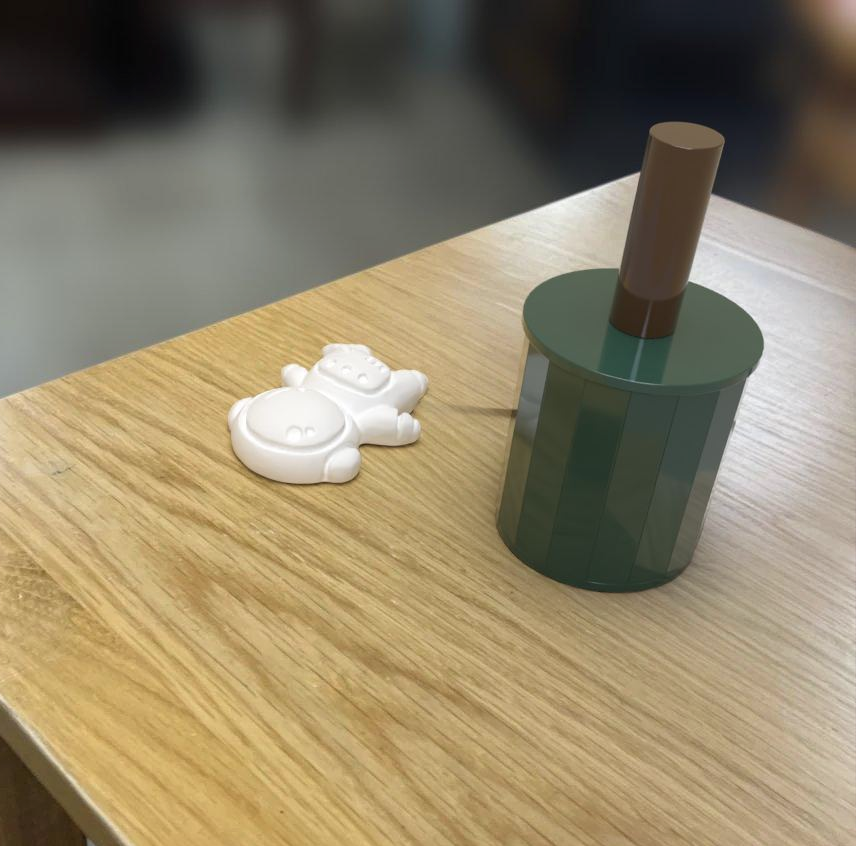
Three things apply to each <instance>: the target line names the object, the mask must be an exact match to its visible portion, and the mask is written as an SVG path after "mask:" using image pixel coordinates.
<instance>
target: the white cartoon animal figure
mask: <svg viewBox="0 0 856 846" xmlns="http://www.w3.org/2000/svg"><path fill="white" fill-rule="evenodd" d="M321 354H322V358H320V360H318V361H317V362H315V364H313V366H312V367H311V369H309V370H307V368H305V367H304V366H300V365H299V364H297V363H290V364H286V365H285V366H283V367H282V368H281V370H280V384H281V387H277V388H273V389H269V390H267V391H264V392H261V393H259V394H257V395H255V396H254V397H251V396H249V397H244V398H241V399H240V400H237V401H236V402H235V403H233V405H232V406H231V408H230V409H229V411H228V415H227V424H228V429H229V431H230V439H231V440H230V441H231V447H232V449H233V453H234V454H235V456H236V457H237V458H238V460H239V461H240V462H241V463H242V464H244V465H245V466H246V467H247V468H248V469H249V470H251V471H252V472H254V473H256V474H257V475H259V476H262V477H265V478H267V479H269V480H273V481H277V482H281V483H288V484H296V485H298V484H303V485H304V484H318V483H325V482H326V483H333V484H342V483H346V482H349V481H351V480H352V479H353V480H354V478H355V477H356V476H357V475H358V474H359V471H360V470H361V466H362V454H361V452H360V451H359V447H360V446H361V445H363V444H370V445H379V446H390V447H399V446H405V445H409V444H413V443H415V442H416V441H417V440H419V438H420V436H421V433H422V426H421V424H420V421H419V420H418V419H416V418H414V417H413V415H412V414H411V413H412V412H413V410H414V409H415V408H417V407H418V406H419V405H420V404H421V399H422V397H424V395H426V392H427V390H428V388H429V385H430V382H429V378H428V377H427V375H425V374H424V373H423V372H421V371H419V370H417V369H410V370H409V369H405V368H404V369H398V370H391V369H390V367H389V366H388V365H387V364H386V363H384V362H383V361H382V360H380V359H378V358H377V357H375V356H374V354H373V351H372V350H371V348H369V347H368V346H366V345H364V344H362V343H361V344H360V343H357V344H355V343H348V344H347V343H338V342H337V343H335V342H334V343H329V344H327V345H325V346H323V347H322V348H321Z"/></svg>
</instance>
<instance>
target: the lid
mask: <svg viewBox="0 0 856 846" xmlns="http://www.w3.org/2000/svg"><path fill="white" fill-rule="evenodd" d="M725 141H726V140H725V137H724V136H723V135H722V134H721V133H719V132H718V131H717V130H715V129H713V128H711V127H708V126H705V125H702V124H698V123H693V122H685V121H663V122H659V123H657V124H654V125H653V126H651V127H650V129H649V132H648V136H647V142H646V146H645V150H644V155H643V158H642V163H641V168H640V173H639V178H638V182H637V186H636V191H635V196H634V200H633V205H632V209H631V212H630V213H631V214H630V219H629V223H628V227H627V232H626V237H625V241H624V245H623V250H622V255H621V259H620V264H619V268H618V267H607V268H606V267H605V268H603V267H601V268H599V267H598V268H586V269H581V270H580V269H579V270H574V271H570V272H565V273H562V274H558V275H555V276H552V277H551V278H549V279H546V280H544V281H542V282H541V283H539V284H538V285H536V286H535V287H534V288H533V289H532V290H531V291H530V292H529V293H528V295H527V297H526V298H525V300H524V303H523V306H522V309H521V311H522V312H521V326H522V330H523V332H524V335H525V334H526V336H527V338H528V340H529V341H530V342H531V344H532V345H533V346H534V347H535V348H536V349H537V350H538V351H539V352H540V353H541V354H542V355H543V356H545V357H546V358H547V359H548V360H550V361H551V362H553V363H554V364H556V365H558V366H559V367H561V368H562V369H564V370H566V371H568V372H570V373H572V374H574V375H577V376H579V377H582V378H584V379H586V380H589V381H592V382H595V383H598V384H601V385H604V386H608V387H611V388H615V389H619V390H624V391H629V392H635V393H641V394H650V395H663V396H689V395H698V394H706V393H711V392H716V391H720V390H723V389H726V388H729V387H732V386H734V385H736V384H738V383H740V382H742V381H743V380H745V379H746V378H748V377H749V376H750V375H751V376H752V374H753V373H755V372H756V370H757V368H758V366H759V365H760V363H761V360H762V356H763V353H764V350H765V338H764V335H763V332H762V330H761V328H760V326H759V324H758V323H757V321H756V320H755V319H754V318H753V317H752V316H751V314H749V312H747V311H746V310H745V309H744V308H743V307H741V306H740V305H739V304H737V303H736V302H734V301H733V300H731V299H729V298H728V297H727V296H725V295H723V294H721V293H719V292H717V291H715V290H713V289H711V288H708V287H706V286H703V285H702V284H698V283H696V282H693V281H690V277H691V273H692V269H693V266H694V261H695V257H696V254H697V249H698V245H699V242H700V238H701V235H702V231H703V227H704V223H705V219H706V216H707V211H708V208H709V203H710V199H711V196H712V192H713V189H714V184H715V180H716V177H717V172H718V169H719V166H720V161H721V157H722V154H723V150H724V146H725ZM751 376H750V377H751Z"/></svg>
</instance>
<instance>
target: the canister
mask: <svg viewBox="0 0 856 846" xmlns="http://www.w3.org/2000/svg"><path fill="white" fill-rule="evenodd" d="M751 376H752V374H751V375H750V376H749V377H748V378H746V379H745V380H743V381H742V382H740V383H738V384H736V385H734V386H732V387H729V388H726V389H723V390H720V391H716V392H711V393H706V394H698V395H689V396H663V395H650V394H641V393H635V392H629V391H624V390H619V389H615V388H611V387H608V386H604V385H601V384H598V383H595V382H592V381H589V380H586V379H584V378H582V377H579V376H577V375H574V374H572V373H570V372H568V371H566V370H564V369H562V368H561V367H559V366H558V365H556V364H554V363H553V362H551V361H550V360H548V359H547V358H546V357H545V356H543V355H542V354H541V353H540V352H539V351H538V350H537V349H536V348H535V347H534V346H533V345H532V344H531V342H530V341H529V340H528V338H527V336H526V334H525V333H524V338H523V343H522V350H521V355H520V361H519V367H518V372H517V378H516V384H515V390H514V395H513V400H512V401H513V402H512V406H511V414H510V418H509V424H508V430H507V436H506V442H505V448H504V453H503V459H502V465H501V471H500V477H499V483H498V489H497V494H496V509H495V522H496V527H497V530H498V533H499V535H500V537H501V539H502V541H503V543H504V544H505V545H506V546H507V548H508V549H509V550H510V552H511V553H513V555H515V556H516V558H518V559H519V560H520V561H522V562H523V563H524V564H525V565H526V566H528V567H530V568H531V569H533V570H535V571H536V572H538V573H540V574H541V575H543V576H545V577H547V578H550V579H552V580H554V581H557V582H559V583H562V584H565V585H568V586H570V587H575V588H579V589H584V590H587V591H595V592H602V593H633V592H641V591H646V590H650V589H654V588H657V587H660V586H663V585H665V584H668V582H670V581H672V580H674V579H676V578H677V577H678V576H680V575H681V574H682V573H683V572H684V571H686V569H687V568H688V567H689V565H690V563H691V561H692V560H693V557H694V554H695V551H696V549H697V546H698V543H699V542H700V539H701V537H702V532H703V529H704V526H705V523H706V519H707V517H708V514H709V511H710V507H711V504H712V500H713V497H714V494H715V491H716V488H717V484H718V483H719V478H720V475H721V472H722V468H723V466H724V462H725V459H726V455H727V452H728V449H729V446H730V442H731V439H732V437H733V434H734V430H735V427H736V423H737V421H738V418H739V414H740V411H741V408H742V405H743V401H744V399H745V396H746V395H745V394H746V391H747V388H748V386H749V381H750V378H751Z"/></svg>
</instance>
